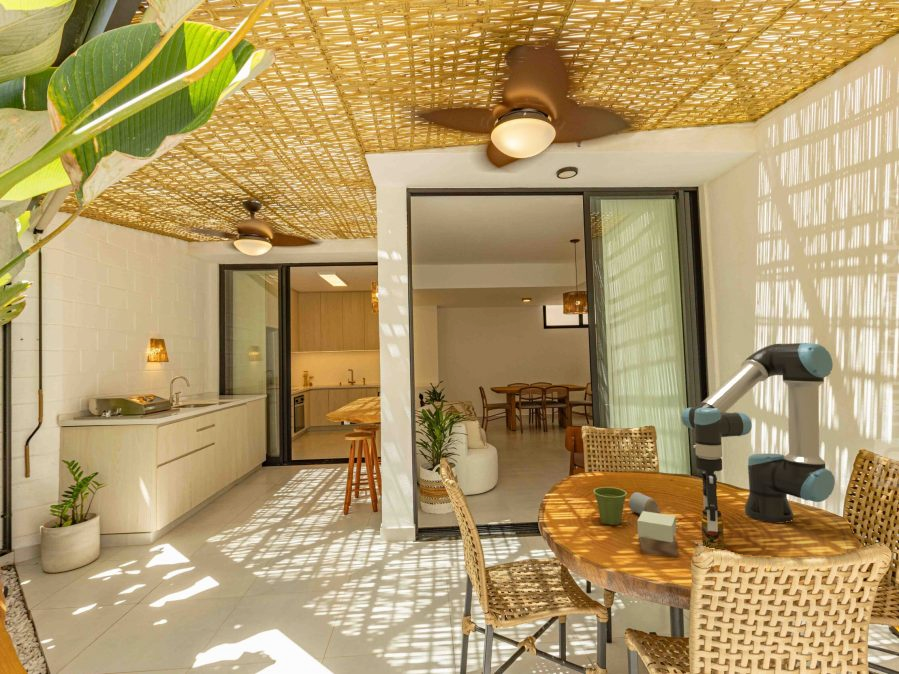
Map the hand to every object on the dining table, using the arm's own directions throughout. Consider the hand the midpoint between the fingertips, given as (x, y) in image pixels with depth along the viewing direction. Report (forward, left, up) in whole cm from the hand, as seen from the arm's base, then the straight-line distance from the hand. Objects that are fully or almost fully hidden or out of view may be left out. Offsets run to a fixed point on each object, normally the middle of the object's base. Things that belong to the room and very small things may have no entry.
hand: (710, 523), depth 151 cm
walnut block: (+16, +7, -8) cm, 19 cm away
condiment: (0, 0, -8) cm, 8 cm away
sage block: (+16, +7, -3) cm, 17 cm away
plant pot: (+32, -12, -8) cm, 35 cm away
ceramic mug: (+20, -26, -8) cm, 34 cm away
